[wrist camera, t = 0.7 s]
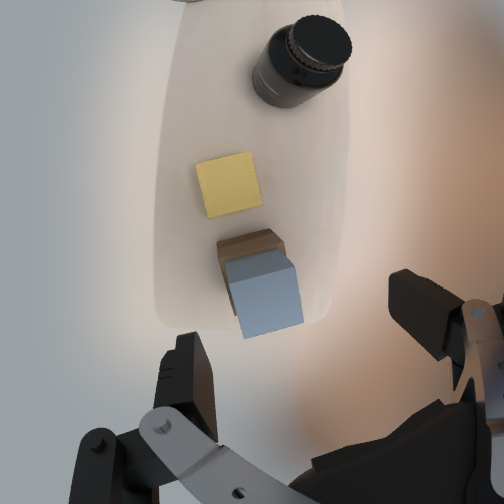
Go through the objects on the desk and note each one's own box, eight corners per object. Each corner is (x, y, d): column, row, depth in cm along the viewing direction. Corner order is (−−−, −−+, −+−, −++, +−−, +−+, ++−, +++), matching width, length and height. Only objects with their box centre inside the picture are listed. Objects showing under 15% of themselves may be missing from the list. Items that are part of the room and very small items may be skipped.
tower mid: (224, 262, 25) (228, 283, 20) (278, 248, 25) (294, 266, 20) (237, 310, 26) (244, 339, 22) (288, 296, 27) (304, 322, 22)
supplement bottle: (243, 97, 26) (264, 53, 15) (262, 48, 25) (290, -8, 13) (302, 118, 28) (354, 92, 16) (318, 69, 26) (370, 28, 15)
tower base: (216, 241, 30) (218, 258, 25) (269, 228, 31) (283, 241, 25) (230, 290, 32) (234, 315, 26) (279, 277, 33) (294, 299, 27)
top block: (197, 165, 28) (194, 164, 23) (243, 154, 28) (250, 151, 23) (208, 211, 29) (208, 218, 25) (254, 199, 30) (262, 205, 25)
